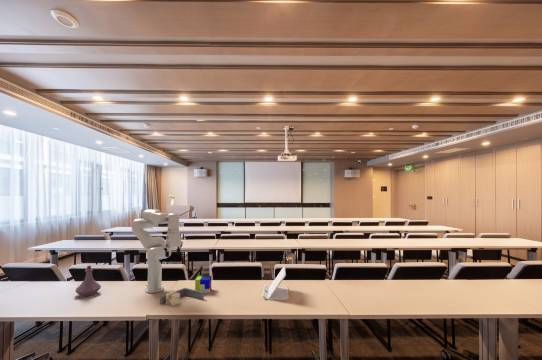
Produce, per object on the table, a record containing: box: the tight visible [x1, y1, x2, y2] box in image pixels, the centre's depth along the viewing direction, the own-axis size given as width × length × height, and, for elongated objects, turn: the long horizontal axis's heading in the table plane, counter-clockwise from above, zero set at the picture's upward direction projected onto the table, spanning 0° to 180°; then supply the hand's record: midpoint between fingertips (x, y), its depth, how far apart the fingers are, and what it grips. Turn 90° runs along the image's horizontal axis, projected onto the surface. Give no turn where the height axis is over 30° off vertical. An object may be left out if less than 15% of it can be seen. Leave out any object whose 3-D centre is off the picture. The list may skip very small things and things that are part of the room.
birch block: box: [165, 291, 181, 307], centre depth 184 cm, size 6×6×6 cm
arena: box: [159, 287, 205, 307], centre depth 188 cm, size 18×21×5 cm
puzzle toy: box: [194, 275, 212, 294], centre depth 209 cm, size 10×10×10 cm
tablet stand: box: [261, 265, 290, 301], centre depth 204 cm, size 18×25×17 cm
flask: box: [75, 265, 102, 298], centre depth 203 cm, size 16×16×20 cm
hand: (172, 255), depth 199 cm, fingers open, 9 cm apart
